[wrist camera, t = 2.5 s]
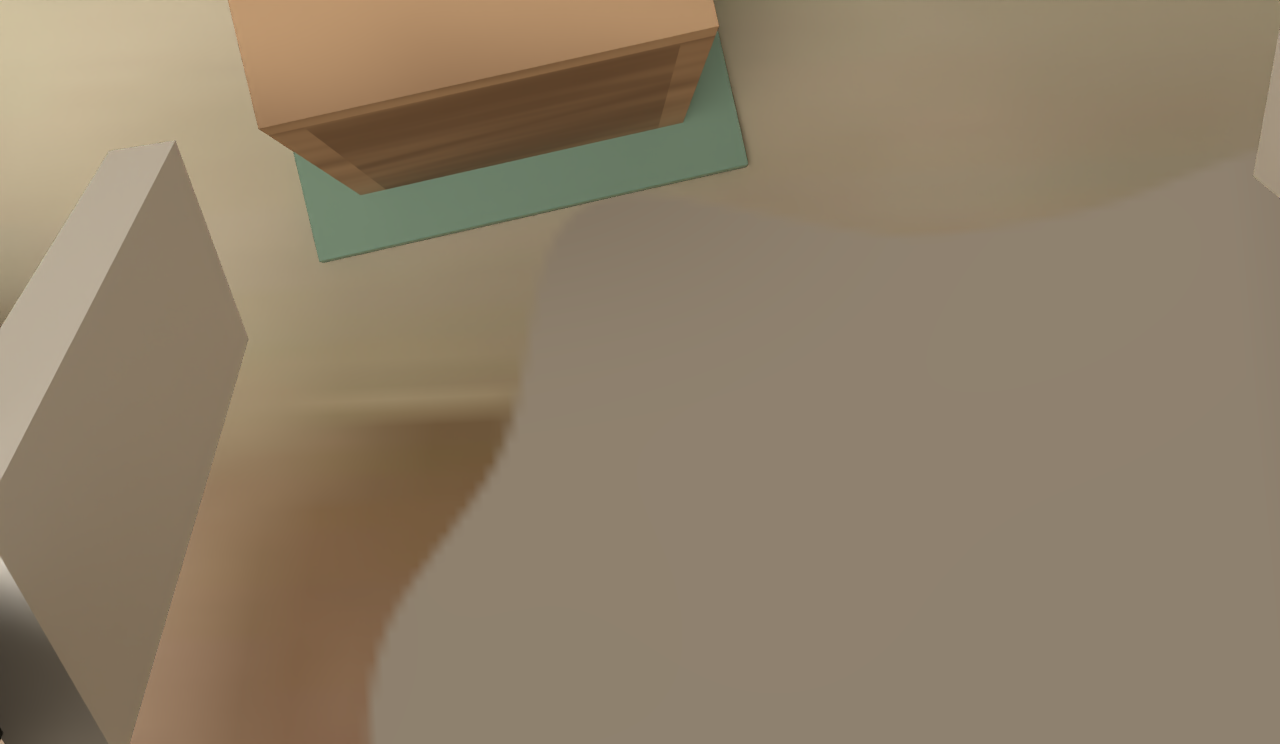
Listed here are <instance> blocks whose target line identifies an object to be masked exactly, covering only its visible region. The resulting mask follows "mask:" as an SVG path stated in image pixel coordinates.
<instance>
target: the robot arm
mask: <svg viewBox="0 0 1280 744" xmlns="http://www.w3.org/2000/svg"><path fill="white" fill-rule="evenodd" d="M1253 177H1254V178H1255V179H1257V180H1258V181H1259V182H1260V183H1262V184H1263V185H1264V186H1265V187H1266V188H1268V189H1269V190H1270V191H1271V192H1273V193H1274V194H1275V195H1276V196H1277V197H1278V198H1280V29H1279V34H1278V40H1277V46H1276V51H1275V57H1274V62H1273V68H1272V73H1271V79H1270V84H1269V90H1268V96H1267V101H1266V107H1265V112H1264V118H1263V123H1262V129H1261V134H1260V140H1259V146H1258V151H1257V157H1256V162H1255V168H1254V173H1253ZM247 342H248V336H247V334H246V331H245V328H244V326H243V323H242V320H241V317H240V315H239V312H238V309H237V307H236V304H235V301H234V298H233V296H232V293H231V290H230V288H229V285H228V282H227V279H226V277H225V274H224V271H223V269H222V266H221V263H220V260H219V258H218V255H217V252H216V249H215V247H214V244H213V241H212V239H211V236H210V233H209V230H208V228H207V225H206V222H205V220H204V217H203V214H202V211H201V209H200V206H199V203H198V201H197V198H196V195H195V192H194V190H193V187H192V184H191V182H190V179H189V176H188V173H187V171H186V168H185V165H184V163H183V160H182V157H181V154H180V152H179V149H178V146H177V143H176V141H175V140H174V141H168V142H161V143H155V144H149V145H142V146H136V147H130V148H123V149H117V150H111V151H109V152H108V153H107V155H106V157H105V158H104V160H103V161H102V163H101V165H100V166H99V168H98V170H97V171H96V173H95V175H94V176H93V178H92V179H91V181H90V183H89V184H88V186H87V188H86V189H85V191H84V192H83V194H82V196H81V197H80V199H79V201H78V202H77V204H76V205H75V207H74V209H73V210H72V212H71V214H70V215H69V217H68V218H67V220H66V222H65V223H64V225H63V227H62V228H61V230H60V232H59V233H58V235H57V236H56V238H55V240H54V241H53V243H52V245H51V246H50V248H49V249H48V251H47V253H46V254H45V256H44V258H43V259H42V261H41V262H40V264H39V266H38V267H37V269H36V271H35V272H34V274H33V275H32V277H31V279H30V280H29V282H28V284H27V285H26V287H25V289H24V290H23V292H22V293H21V295H20V297H19V298H18V300H17V302H16V303H15V305H14V306H13V308H12V310H11V311H10V313H9V315H8V316H7V318H6V319H5V321H4V323H3V324H2V326H1V328H0V740H1V739H2V740H3V742H4V743H5V744H130V741H131V737H132V734H133V730H134V727H135V723H136V720H137V717H138V713H139V710H140V706H141V703H142V700H143V696H144V693H145V689H146V686H147V683H148V679H149V676H150V672H151V669H152V666H153V662H154V659H155V655H156V652H157V649H158V645H159V642H160V638H161V635H162V632H163V628H164V625H165V621H166V618H167V615H168V611H169V608H170V604H171V601H172V598H173V594H174V591H175V587H176V584H177V581H178V577H179V574H180V570H181V567H182V564H183V560H184V557H185V553H186V550H187V547H188V543H189V540H190V536H191V533H192V530H193V526H194V523H195V519H196V516H197V513H198V509H199V506H200V502H201V499H202V495H203V492H204V489H205V485H206V482H207V478H208V475H209V472H210V468H211V465H212V461H213V458H214V455H215V451H216V448H217V444H218V441H219V438H220V434H221V431H222V427H223V424H224V421H225V417H226V414H227V410H228V407H229V404H230V400H231V397H232V393H233V390H234V387H235V383H236V380H237V376H238V373H239V370H240V366H241V363H242V359H243V356H244V353H245V349H246V346H247Z"/></svg>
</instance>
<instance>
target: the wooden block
mask: <svg viewBox="0 0 1280 744" xmlns="http://www.w3.org/2000/svg"><path fill="white" fill-rule="evenodd" d="M228 3H229V7H230V11H231V15H232V19H233V24H234V28H235V32H236V36H237V40H238V45H239V49H240V53H241V57H242V62H243V66H244V70H245V74H246V78H247V83H248V87H249V91H250V95H251V99H252V104H253V108H254V112H255V116H256V120H257V125H258V129H260V130H261V131H263V132H264V133H266V134H267V135H269V136H270V137H272V138H273V139H275V140H276V141H278V142H280V143H281V144H283V145H284V146H286V147H287V148H289V149H290V150H292V151H293V152H295V153H296V154H298V155H300V156H301V157H303V158H304V159H306V160H307V161H309V162H310V163H312V164H313V165H315V166H316V167H318V168H320V169H321V170H323V171H324V172H326V173H327V174H329V175H330V176H332V177H333V178H335V179H336V180H338V181H339V182H341V183H343V184H344V185H346V186H347V187H349V188H350V189H352V190H353V191H355V192H356V193H358V194H359V195H364V194H369V193H373V192H378V191H382V190H386V189H391V188H395V187H400V186H404V185H409V184H413V183H418V182H422V181H426V180H431V179H435V178H440V177H444V176H449V175H453V174H457V173H462V172H466V171H471V170H475V169H480V168H484V167H489V166H493V165H497V164H502V163H506V162H511V161H515V160H520V159H524V158H528V157H533V156H537V155H542V154H546V153H551V152H555V151H559V150H564V149H568V148H573V147H577V146H582V145H586V144H591V143H595V142H599V141H604V140H608V139H613V138H617V137H622V136H626V135H630V134H635V133H639V132H644V131H648V130H653V129H657V128H661V127H666V126H670V125H675V124H679V123H683V121H684V118H685V116H686V113H687V110H688V108H689V105H690V102H691V100H692V97H693V94H694V92H695V89H696V86H697V84H698V81H699V78H700V76H701V73H702V70H703V68H704V65H705V62H706V59H707V57H708V54H709V51H710V49H711V46H712V43H713V41H714V38H715V35H716V33H717V30H718V27H719V24H718V19H717V15H716V10H715V6H714V2H713V0H228Z"/></svg>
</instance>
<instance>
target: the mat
mask: <svg viewBox="0 0 1280 744" xmlns="http://www.w3.org/2000/svg"><path fill="white" fill-rule="evenodd" d="M294 157H295V161H296V165H297V169H298V174H299V178H300V182H301V186H302V190H303V195H304V199H305V203H306V207H307V212H308V216H309V220H310V224H311V228H312V233H313V237H314V241H315V245H316V250H317V254H318V258H319V262H323V263H325V262H329V261H334V260H338V259H342V258H347V257H351V256H356V255H360V254H364V253H369V252H373V251H378V250H382V249H386V248H391V247H395V246H400V245H404V244H409V243H413V242H417V241H422V240H426V239H431V238H435V237H439V236H444V235H448V234H453V233H457V232H461V231H466V230H470V229H475V228H479V227H483V226H488V225H492V224H497V223H501V222H505V221H510V220H514V219H519V218H523V217H527V216H532V215H536V214H541V213H545V212H550V211H554V210H558V209H563V208H567V207H572V206H576V205H580V204H585V203H589V202H594V201H598V200H602V199H607V198H611V197H616V196H620V195H624V194H629V193H633V192H638V191H642V190H646V189H651V188H655V187H660V186H664V185H669V184H673V183H677V182H682V181H686V180H691V179H695V178H699V177H704V176H708V175H713V174H717V173H721V172H726V171H730V170H735V169H739V168H743V167H746V166H747V165H748V161H747V156H746V152H745V148H744V143H743V139H742V134H741V130H740V126H739V121H738V117H737V112H736V108H735V104H734V99H733V95H732V90H731V86H730V82H729V77H728V73H727V68H726V64H725V60H724V55H723V51H722V46H721V42H720V38H719V33H718V30H717V33H716V35H715V38H714V41H713V43H712V46H711V49H710V51H709V54H708V57H707V59H706V62H705V65H704V68H703V70H702V73H701V76H700V78H699V81H698V84H697V86H696V89H695V92H694V94H693V97H692V100H691V102H690V105H689V108H688V110H687V113H686V116H685V118H684V121H683V123H679V124H675V125H670V126H666V127H661V128H657V129H653V130H648V131H644V132H639V133H635V134H630V135H626V136H622V137H617V138H613V139H608V140H604V141H599V142H595V143H591V144H586V145H582V146H577V147H573V148H568V149H564V150H559V151H555V152H551V153H546V154H542V155H537V156H533V157H528V158H524V159H520V160H515V161H511V162H506V163H502V164H497V165H493V166H489V167H484V168H480V169H475V170H471V171H466V172H462V173H457V174H453V175H449V176H444V177H440V178H435V179H431V180H426V181H422V182H418V183H413V184H409V185H404V186H400V187H395V188H391V189H386V190H382V191H378V192H373V193H369V194H364V195H359V194H358V193H356V192H355V191H353V190H352V189H350V188H349V187H347V186H346V185H344V184H343V183H341V182H339V181H338V180H336V179H335V178H333V177H332V176H330V175H329V174H327V173H326V172H324V171H323V170H321V169H320V168H318V167H316V166H315V165H313V164H312V163H310V162H309V161H307V160H306V159H304V158H303V157H301V156H300V155H298V154H296V153H295V152H294Z"/></svg>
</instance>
